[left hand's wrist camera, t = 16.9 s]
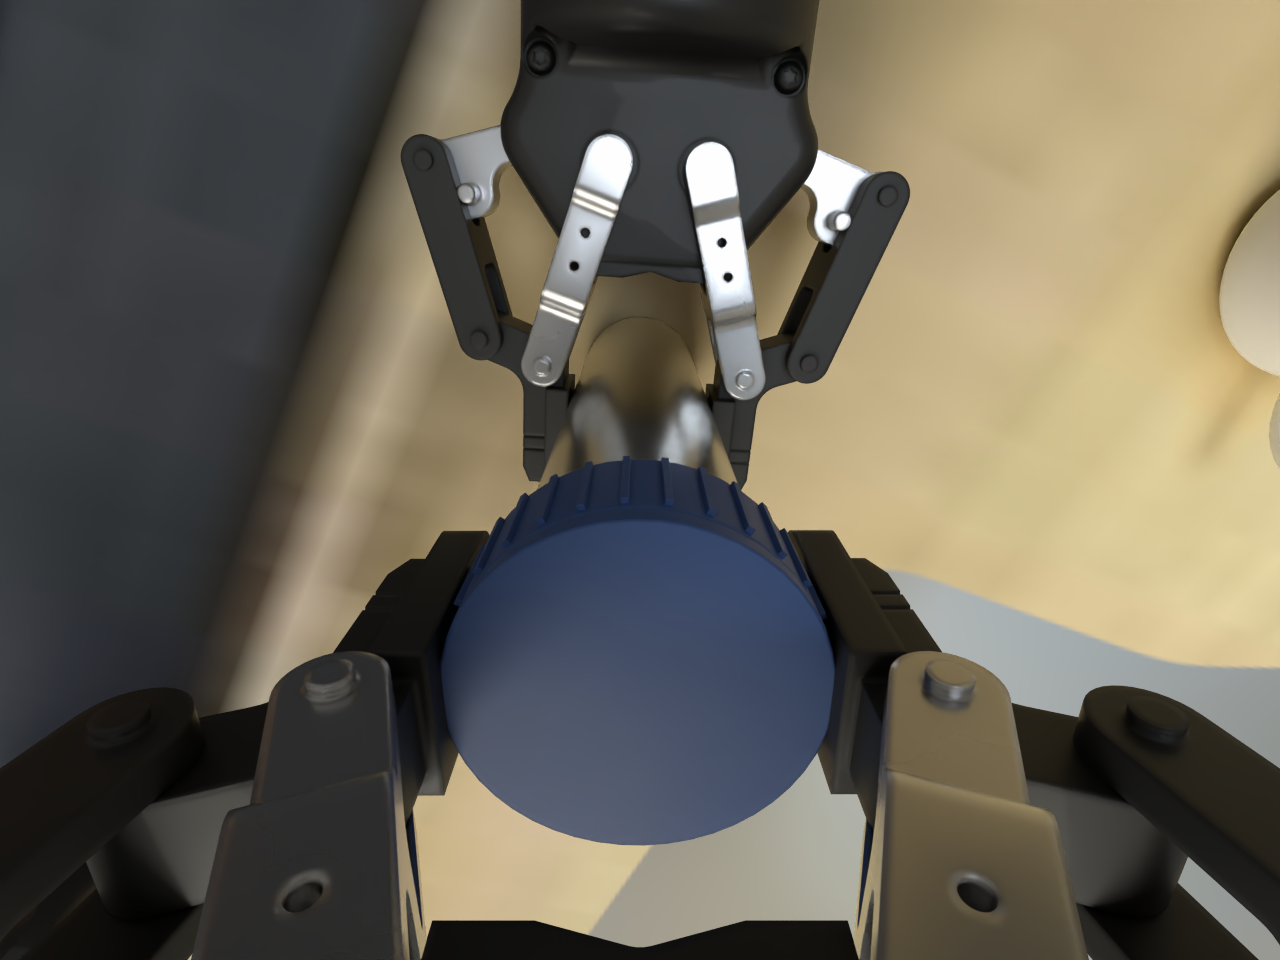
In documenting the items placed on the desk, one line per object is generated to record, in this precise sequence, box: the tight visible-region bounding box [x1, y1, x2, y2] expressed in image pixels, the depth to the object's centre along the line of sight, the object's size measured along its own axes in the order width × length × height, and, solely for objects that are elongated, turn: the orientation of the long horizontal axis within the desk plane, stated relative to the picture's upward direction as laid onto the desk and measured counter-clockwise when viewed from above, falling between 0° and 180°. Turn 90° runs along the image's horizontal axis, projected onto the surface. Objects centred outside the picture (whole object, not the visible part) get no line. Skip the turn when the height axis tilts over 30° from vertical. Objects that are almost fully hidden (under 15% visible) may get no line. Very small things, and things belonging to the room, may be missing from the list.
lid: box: [440, 456, 835, 845], centre depth 10 cm, size 5×5×2 cm
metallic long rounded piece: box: [537, 317, 737, 490], centre depth 18 cm, size 4×4×19 cm
